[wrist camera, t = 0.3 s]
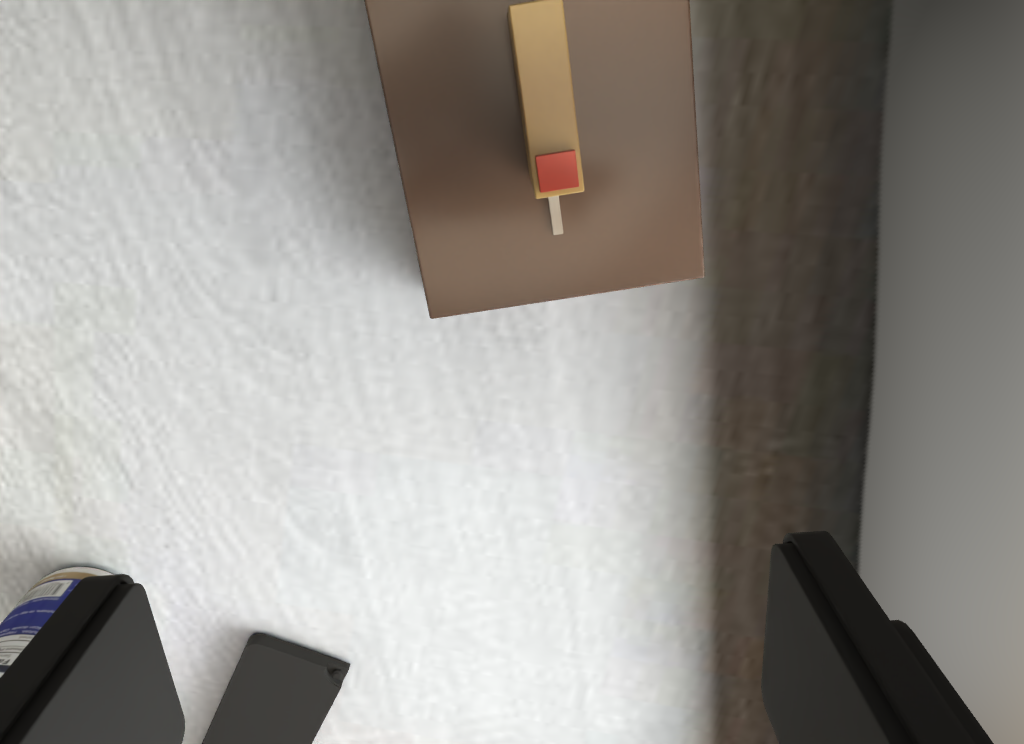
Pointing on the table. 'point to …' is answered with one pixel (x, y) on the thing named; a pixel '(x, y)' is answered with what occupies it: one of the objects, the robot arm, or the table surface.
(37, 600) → the pill bottle
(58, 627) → the robot arm
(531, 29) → the thumbturn
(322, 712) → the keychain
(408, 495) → the table surface
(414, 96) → the lock plate
